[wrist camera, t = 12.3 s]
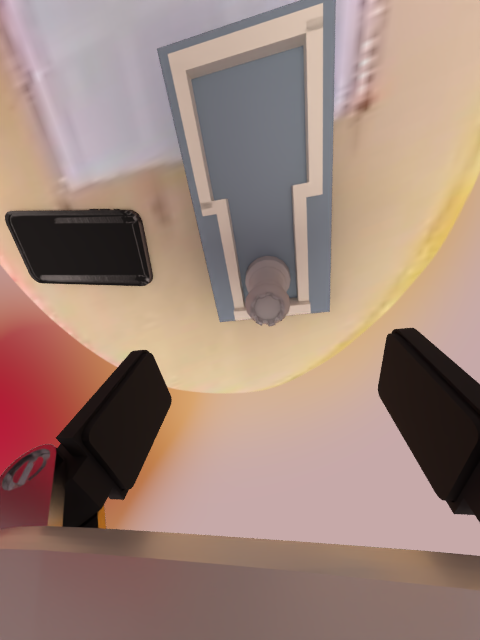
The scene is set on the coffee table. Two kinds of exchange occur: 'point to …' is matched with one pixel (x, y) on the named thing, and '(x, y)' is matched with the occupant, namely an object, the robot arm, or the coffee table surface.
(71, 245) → the phone
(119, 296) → the coffee table surface
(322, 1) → the keyhole board
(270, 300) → the rook chess piece
